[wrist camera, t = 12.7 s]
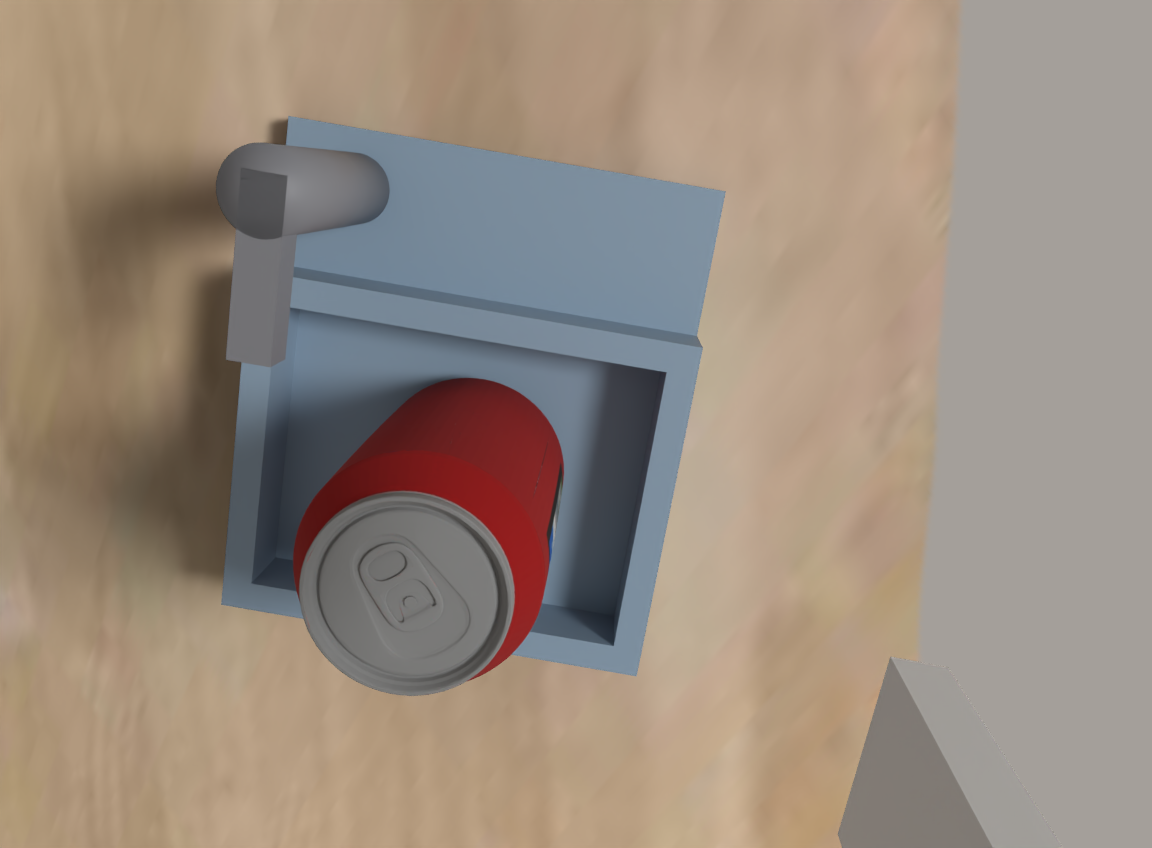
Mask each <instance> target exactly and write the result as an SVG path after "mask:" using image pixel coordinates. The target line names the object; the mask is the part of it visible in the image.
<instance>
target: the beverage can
mask: <svg viewBox="0 0 1152 848" xmlns="http://www.w3.org/2000/svg"><path fill="white" fill-rule="evenodd" d="M563 480H564V461H563V455H562V450H561V446H560V443H559V440H558V438H557V435H556V433H555V431H554V429H553V427H552V425H551V424H550V422H549V421H548V419H547V418H546V417H545V415H544V414H543V413H542V412H541V410H540V409H539V408H538V407H537V406H536V405H535V404H534V403H532V402H531V401H530V400H529V399H528V398H526V397H525V396H524V395H522V394H521V393H519V392H517V391H516V390H514V389H512V388H510V387H508V386H505V385H503V384H500V383H497V382H494V381H490V380H486V379H479V378H456V379H450V380H445V381H441V382H438V383H435V384H433V385H430V386H428V387H426V388H424V389H422V390H420V391H419V392H417V393H416V394H414V395H413V396H412V397H410V398H409V399H408V400H407V401H406V402H405V403H403V404H402V405H401V406H400V407H399V408H398V409H397V410H396V411H395V412H394V413H393V414H392V415H391V416H390V417H389V418H388V419H387V420H386V421H385V422H384V423H383V424H382V425H381V426H380V427H379V428H378V429H377V430H376V431H375V432H374V433H373V434H372V435H371V436H370V437H369V438H368V439H367V440H366V441H365V442H364V443H363V444H362V445H361V446H360V447H359V448H358V449H357V451H356V452H355V453H354V454H353V455H352V456H351V457H350V458H349V459H348V460H347V461H346V462H345V463H344V464H343V465H342V467H341V468H340V469H339V470H338V471H337V472H336V473H335V474H334V475H333V476H332V478H331V479H330V480H329V481H328V482H327V483H326V484H325V485H324V486H323V487H322V489H321V490H320V491H319V492H318V493H317V494H316V496H315V497H314V498H313V500H312V501H311V503H310V504H309V506H308V508H307V509H306V511H305V513H304V515H303V517H302V520H301V522H300V525H299V528H298V531H297V535H296V539H295V545H294V553H293V572H294V581H295V586H296V591H297V595H298V598H299V601H300V606H301V611H302V615H303V618H304V621H305V624H306V627H307V629H308V631H309V633H310V635H311V637H312V639H313V641H314V642H315V644H316V646H317V647H318V648H319V650H320V651H321V652H322V653H323V655H324V656H325V657H326V658H327V659H328V660H329V661H330V662H331V663H332V664H333V665H334V666H335V667H336V668H337V669H339V670H340V671H341V672H342V673H344V674H345V675H347V676H348V677H350V678H351V679H353V680H355V681H356V682H358V683H361V684H363V685H365V686H367V687H370V688H372V689H375V690H378V691H381V692H386V693H390V694H396V695H407V696H418V695H429V694H434V693H438V692H442V691H446V690H448V689H451V688H454V687H456V686H458V685H461V684H462V683H464V682H466V681H469V680H472V679H474V678H476V677H479V676H481V675H483V674H485V673H486V672H488V671H490V670H492V669H493V668H495V667H496V666H498V665H499V664H501V663H502V662H503V661H504V660H505V659H507V658H508V657H509V656H510V655H511V654H512V653H513V652H514V651H515V650H516V649H517V648H518V647H519V646H520V645H521V643H522V642H523V641H524V639H525V638H526V637H527V635H528V634H529V632H530V630H531V628H532V627H533V625H534V623H535V621H536V618H537V616H538V613H539V611H540V608H541V604H542V600H543V596H544V591H545V586H546V581H547V576H548V572H549V567H550V562H551V556H552V551H553V545H554V540H555V534H556V528H557V522H558V516H559V509H560V503H561V495H562V488H563Z"/></svg>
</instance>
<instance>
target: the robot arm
mask: <svg viewBox="0 0 1152 848" xmlns="http://www.w3.org/2000/svg"><path fill="white" fill-rule="evenodd" d="M838 836H839V839H840V842H841V845H842V848H1063V846H1062V845H1061V843H1060V842H1059V840H1058V839H1057V837H1056V835H1055V834H1054V832H1053V831H1052V829H1051V828H1050V826H1049V824H1048V823H1047V821H1046V820H1045V818H1044V817H1043V815H1042V813H1041V812H1040V810H1039V809H1038V807H1037V806H1036V804H1035V803H1034V801H1033V799H1032V798H1031V796H1030V795H1029V793H1028V792H1027V790H1026V788H1025V787H1024V785H1023V784H1022V782H1021V781H1020V779H1019V778H1018V776H1017V774H1016V773H1015V771H1014V770H1013V768H1012V766H1011V765H1010V763H1009V762H1008V760H1007V759H1006V757H1005V756H1004V754H1003V752H1002V751H1001V749H1000V748H999V746H998V745H997V743H996V741H995V740H994V738H993V737H992V735H991V734H990V732H989V731H988V729H987V727H986V726H985V724H984V723H983V721H982V719H981V718H980V716H979V715H978V713H977V712H976V710H975V708H974V707H973V705H972V704H971V702H970V701H969V699H968V697H967V696H966V694H965V693H964V691H963V690H962V688H961V686H960V685H959V683H958V682H957V680H956V679H955V677H954V675H953V674H952V672H951V671H950V669H949V668H948V667H944V666H938V665H933V664H927V663H922V662H917V661H911V660H906V659H900V658H895V657H890V660H889V663H888V667H887V670H886V673H885V677H884V680H883V683H882V687H881V690H880V694H879V697H878V700H877V704H876V707H875V710H874V714H873V717H872V721H871V724H870V727H869V731H868V734H867V737H866V741H865V744H864V748H863V751H862V754H861V758H860V761H859V764H858V768H857V771H856V774H855V778H854V781H853V785H852V788H851V791H850V795H849V798H848V801H847V805H846V808H845V812H844V815H843V818H842V822H841V825H840V828H839V832H838Z"/></svg>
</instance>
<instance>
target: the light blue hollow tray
mask: <svg viewBox="0 0 1152 848" xmlns="http://www.w3.org/2000/svg"><path fill="white" fill-rule="evenodd" d="M725 192H726V191H720V190H714V189H708V188H702V187H697V186H691V185H685V184H679V183H673V182H668V181H662V180H656V179H650V178H644V177H639V176H633V175H627V174H621V173H615V172H610V171H604V170H598V169H592V168H586V167H581V166H575V165H569V164H563V163H557V162H552V161H546V160H540V159H534V158H528V157H523V156H517V155H511V154H505V153H500V152H494V151H488V150H482V149H476V148H471V147H465V146H459V145H453V144H447V143H442V142H436V141H430V140H424V139H418V138H413V137H407V136H401V135H395V134H389V133H384V132H378V131H372V130H366V129H360V128H355V127H349V126H343V125H337V124H331V123H326V122H320V121H314V120H308V119H303V118H297V117H291V116H289V117H288V128H287V140H286V145H279V144H269V143H251V144H247V145H244V146H241V147H239V148H237V149H236V150H234V151H233V152H232V153H231V154H230V155H228V157H227V158H226V159H225V160H224V162H223V163H222V165H221V167H220V169H219V172H218V176H217V181H216V194H217V199H218V203H219V206H220V208H221V210H222V212H223V214H224V216H225V217H226V219H227V220H228V221H229V222H230V223H231V225H233V226H234V227H235V228H236V237H235V249H234V262H233V275H232V287H231V300H230V313H229V325H228V338H227V350H226V360H230V361H236V362H242V364H241V376H240V388H239V400H238V412H237V424H236V435H235V447H234V459H233V471H232V483H231V495H230V507H229V519H228V531H227V543H226V555H225V567H224V579H223V591H222V603H221V605H227V606H233V607H238V608H244V609H250V610H256V611H261V612H267V613H273V614H279V615H285V616H290V617H296V618H302V619H304V618H303V615H302V611H301V606H300V601H299V598H298V595H297V591H296V586H295V581H294V572H293V553H294V545H295V539H296V535H297V531H298V528H299V525H300V522H301V520H302V517H303V515H304V513H305V511H306V509H307V508H308V506H309V504H310V503H311V501H312V500H313V498H314V497H315V496H316V494H317V493H318V492H319V491H320V490H321V489H322V487H323V486H324V485H325V484H326V483H327V482H328V481H329V480H330V479H331V478H332V476H333V475H334V474H335V473H336V472H337V471H338V470H339V469H340V468H341V467H342V465H343V464H344V463H345V462H346V461H347V460H348V459H349V458H350V457H351V456H352V455H353V454H354V453H355V452H356V451H357V449H358V448H359V447H360V446H361V445H362V444H363V443H364V442H365V441H366V440H367V439H368V438H369V437H370V436H371V435H372V434H373V433H374V432H375V431H376V430H377V429H378V428H379V427H380V426H381V425H382V424H383V423H384V422H385V421H386V420H387V419H388V418H389V417H390V416H391V415H392V414H393V413H394V412H395V411H396V410H397V409H398V408H399V407H400V406H401V405H402V404H403V403H405V402H406V401H407V400H408V399H409V398H410V397H412V396H413V395H414V394H416V393H417V392H419V391H420V390H422V389H424V388H426V387H428V386H430V385H433V384H435V383H438V382H441V381H445V380H450V379H456V378H479V379H486V380H490V381H494V382H497V383H500V384H503V385H505V386H508V387H510V388H512V389H514V390H516V391H517V392H519V393H521V394H522V395H524V396H525V397H526V398H528V399H529V400H530V401H531V402H532V403H534V404H535V405H536V406H537V407H538V408H539V409H540V410H541V412H542V413H543V414H544V415H545V417H546V418H547V419H548V421H549V422H550V424H551V425H552V427H553V429H554V431H555V433H556V435H557V438H558V440H559V443H560V446H561V450H562V455H563V461H564V480H563V488H562V495H561V503H560V509H559V516H558V522H557V528H556V534H555V540H554V545H553V551H552V556H551V562H550V567H549V572H548V576H547V581H546V586H545V591H544V596H543V600H542V604H541V608H540V611H539V613H538V616H537V618H536V621H535V623H534V625H533V627H532V628H531V630H530V632H529V634H528V635H527V637H526V638H525V639H524V641H523V642H522V643H521V645H520V646H519V647H518V648H517V649H516V650H515V651H514V652H513V653H512V654H511V655H517V656H522V657H528V658H534V659H540V660H545V661H551V662H557V663H563V664H569V665H574V666H580V667H586V668H592V669H598V670H603V671H609V672H615V673H621V674H627V675H632V676H637V671H638V666H639V661H640V656H641V651H642V646H643V641H644V636H645V632H646V627H647V622H648V617H649V612H650V607H651V602H652V597H653V592H654V587H655V582H656V577H657V572H658V567H659V562H660V557H661V552H662V547H663V542H664V537H665V532H666V527H667V523H668V518H669V513H670V508H671V503H672V498H673V493H674V488H675V483H676V478H677V473H678V468H679V463H680V458H681V453H682V448H683V443H684V438H685V433H686V428H687V423H688V418H689V413H690V409H691V404H692V399H693V394H694V389H695V384H696V379H697V374H698V369H699V364H700V359H701V354H702V349H703V347H702V345H701V343H700V341H699V339H698V337H697V332H698V327H699V322H700V317H701V312H702V307H703V302H704V297H705V292H706V287H707V282H708V277H709V272H710V267H711V262H712V257H713V252H714V247H715V242H716V237H717V232H718V227H719V222H720V217H721V212H722V207H723V202H724V197H725Z"/></svg>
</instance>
